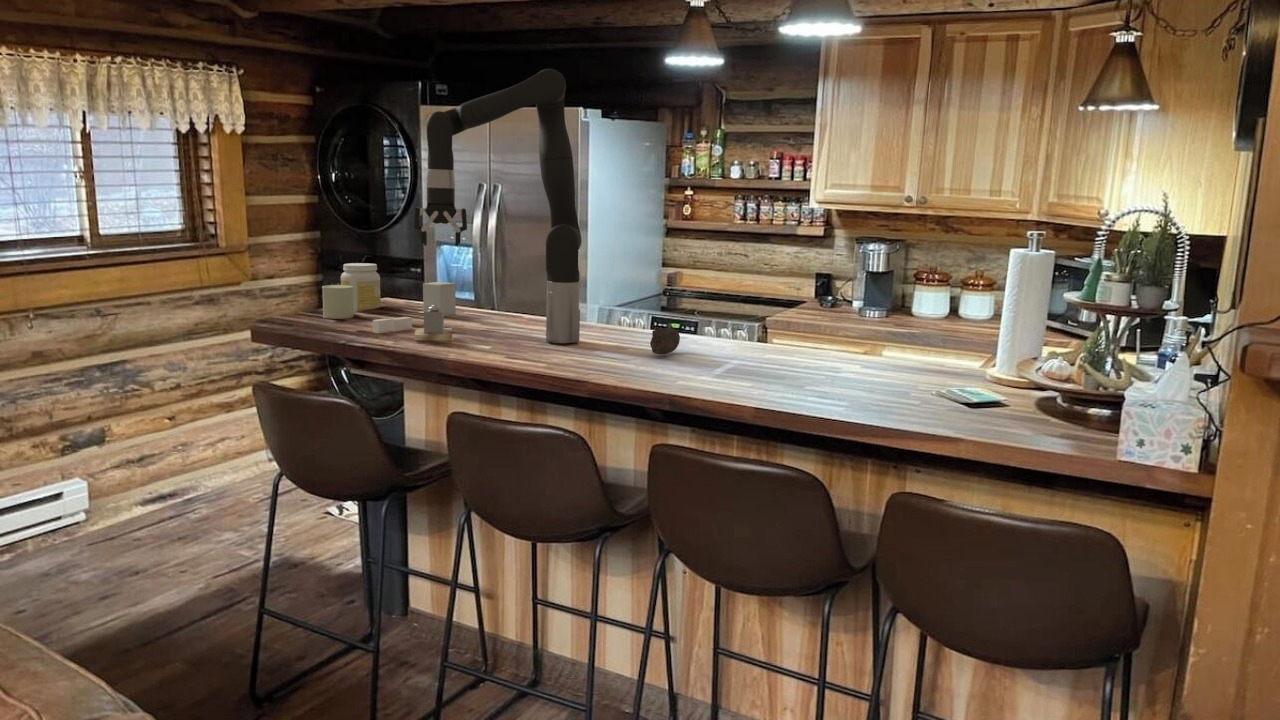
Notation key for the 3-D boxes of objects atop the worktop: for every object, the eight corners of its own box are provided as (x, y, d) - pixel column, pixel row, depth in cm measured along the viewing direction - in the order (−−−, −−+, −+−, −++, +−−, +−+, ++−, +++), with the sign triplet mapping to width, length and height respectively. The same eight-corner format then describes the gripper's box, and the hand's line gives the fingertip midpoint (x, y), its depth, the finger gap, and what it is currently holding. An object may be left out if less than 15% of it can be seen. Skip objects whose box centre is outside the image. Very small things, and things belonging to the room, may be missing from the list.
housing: (443, 329, 270) (443, 304, 269) (442, 333, 262) (442, 308, 261) (425, 328, 270) (425, 304, 268) (424, 333, 261) (423, 308, 260)
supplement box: (456, 323, 301) (456, 283, 299) (439, 325, 295) (439, 284, 293) (439, 320, 305) (439, 281, 303) (422, 323, 299) (422, 282, 296)
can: (322, 322, 293) (321, 283, 291) (354, 322, 296) (353, 283, 294) (322, 326, 285) (321, 286, 282) (354, 326, 287) (354, 286, 285)
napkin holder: (415, 334, 279) (415, 314, 278) (419, 340, 269) (419, 320, 268) (362, 334, 275) (362, 315, 274) (363, 340, 264) (363, 320, 263)
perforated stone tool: (669, 348, 266) (670, 323, 265) (686, 350, 264) (687, 325, 263) (645, 355, 253) (645, 329, 252) (662, 357, 251) (663, 331, 249)
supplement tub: (385, 314, 314) (384, 263, 312) (374, 319, 302) (373, 266, 300) (348, 313, 315) (347, 262, 312) (336, 318, 303) (335, 265, 300)
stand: (452, 336, 273) (452, 328, 273) (452, 344, 260) (452, 335, 260) (416, 336, 271) (416, 328, 271) (414, 344, 259) (414, 334, 258)
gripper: (466, 187, 268) (466, 245, 270) (414, 185, 265) (415, 244, 268) (467, 187, 260) (467, 247, 263) (413, 185, 258) (414, 246, 261)
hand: (441, 245), depth 265 cm, fingers open, 8 cm apart
